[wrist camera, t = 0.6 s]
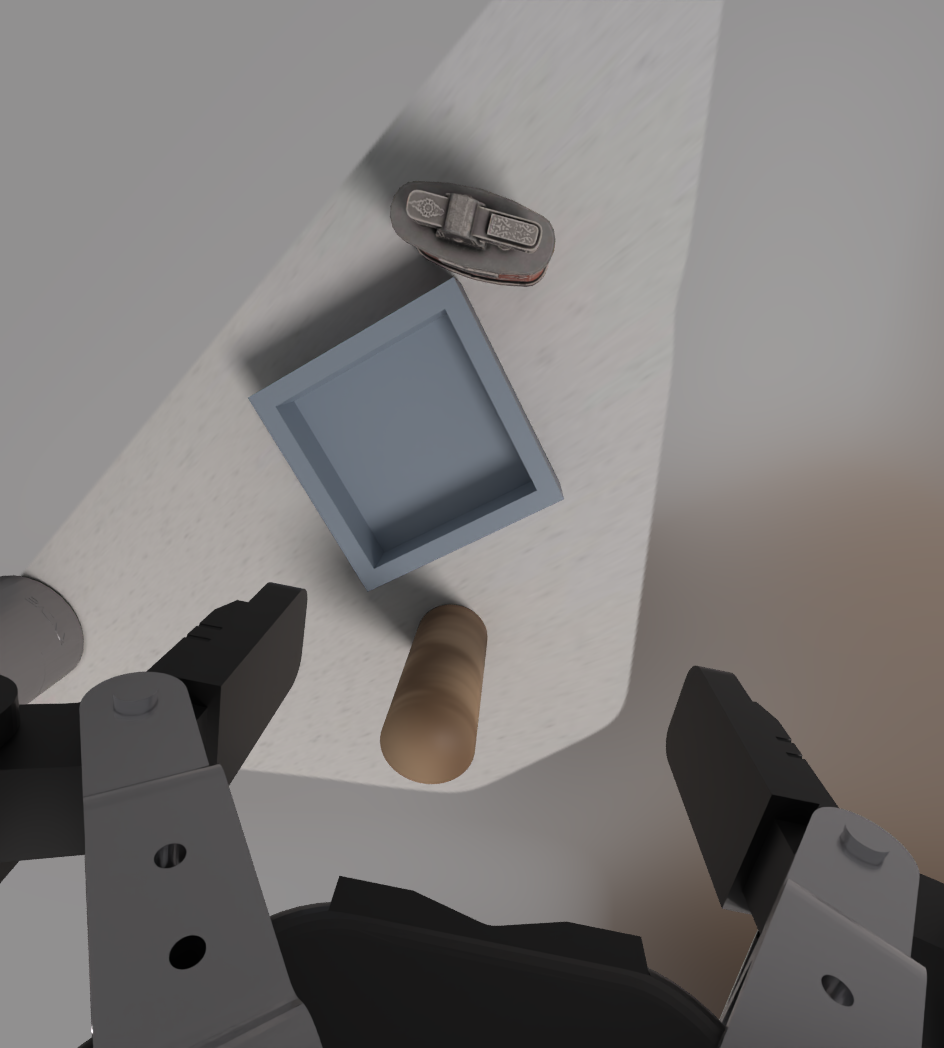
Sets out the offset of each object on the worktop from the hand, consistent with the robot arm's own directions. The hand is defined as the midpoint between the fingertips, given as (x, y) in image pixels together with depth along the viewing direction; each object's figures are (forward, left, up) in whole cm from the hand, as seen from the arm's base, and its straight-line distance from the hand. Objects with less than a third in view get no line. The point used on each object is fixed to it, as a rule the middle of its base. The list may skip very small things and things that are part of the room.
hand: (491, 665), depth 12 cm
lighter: (+4, +11, -28) cm, 30 cm away
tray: (-5, +3, -27) cm, 28 cm away
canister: (-10, -11, -28) cm, 31 cm away
